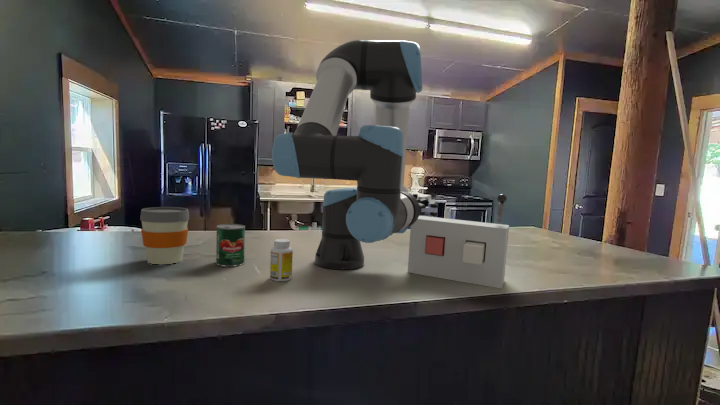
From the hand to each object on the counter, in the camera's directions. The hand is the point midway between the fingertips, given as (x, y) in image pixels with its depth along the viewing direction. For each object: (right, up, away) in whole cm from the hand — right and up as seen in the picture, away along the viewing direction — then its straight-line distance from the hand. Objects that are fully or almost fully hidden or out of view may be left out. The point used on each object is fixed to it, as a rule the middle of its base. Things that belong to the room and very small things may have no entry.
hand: (428, 200), depth 97 cm
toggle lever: (+21, -7, +8) cm, 23 cm away
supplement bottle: (-38, -21, +3) cm, 43 cm away
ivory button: (+13, -16, +6) cm, 22 cm away
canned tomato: (-55, -19, +16) cm, 60 cm away
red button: (+5, -15, +14) cm, 21 cm away
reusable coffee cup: (-73, -18, +14) cm, 77 cm away
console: (+10, -22, +13) cm, 28 cm away
